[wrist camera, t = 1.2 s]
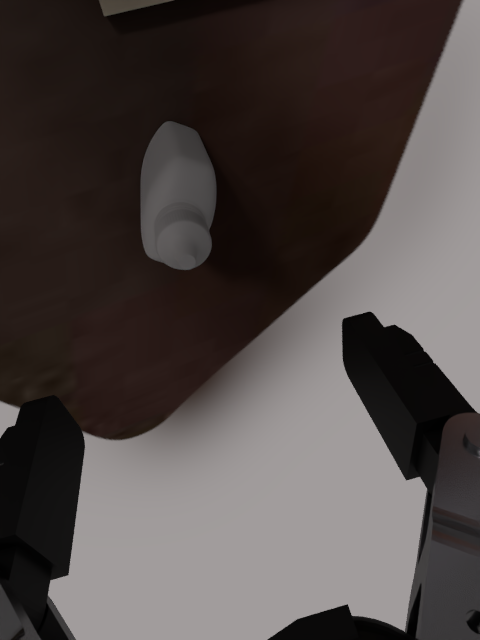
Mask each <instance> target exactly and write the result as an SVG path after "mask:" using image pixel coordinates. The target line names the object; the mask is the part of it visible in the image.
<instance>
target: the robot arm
mask: <svg viewBox="0 0 480 640" xmlns="http://www.w3.org/2000/svg"><path fill="white" fill-rule="evenodd" d="M342 343H343V344H342V345H343V362H344V367H345V370H346V372H347V375H348V377H349V379H350V381H351V382H352V384H353V386H354V388H355V390H356V392H357V393H358V395H359V397H360V399H361V400H362V402H363V404H364V406H365V407H366V409H367V411H368V413H369V415H370V417H371V418H372V420H373V422H374V424H375V425H376V427H377V429H378V431H379V433H380V434H381V436H382V438H383V440H384V442H385V443H386V445H387V447H388V449H389V450H390V452H391V454H392V456H393V457H394V459H395V461H396V463H397V465H398V467H399V468H400V470H401V472H402V474H403V475H404V477H405V479H406V480H409V479H413V478H416V477H421V479H422V481H423V482H424V484H425V486H426V487H427V493H426V500H425V508H424V514H423V521H422V528H421V534H420V541H419V548H418V556H417V562H416V568H415V574H414V579H413V584H412V590H411V595H410V601H409V608H408V614H407V621H406V628H405V632H404V631H402V630H400V629H398V628H396V627H394V626H392V625H390V624H388V623H385V622H382V621H379V620H376V619H371V618H366V617H359V616H352V615H351V613H350V610H349V607H348V605H344V606H340V607H337V608H334V609H331V610H327V611H324V612H320V613H317V614H313V615H310V616H307V617H303V618H300V619H297V620H296V621H294V622H293V623H291V624H290V625H288V626H287V627H285V628H284V629H283V630H281V631H280V632H278V633H277V634H275V635H274V636H273V637H271V638H269V639H268V640H480V414H478V413H477V412H476V411H475V410H474V409H473V408H472V407H471V406H470V405H469V403H468V402H467V401H466V400H465V399H464V397H463V396H462V395H461V394H460V393H459V392H458V390H457V389H456V388H455V386H454V385H453V384H452V383H451V382H450V380H449V379H448V378H447V377H446V376H445V374H444V373H443V372H442V371H441V370H440V368H439V367H438V366H437V365H436V364H434V363H433V360H432V359H431V358H430V356H429V355H428V354H427V353H426V352H424V350H423V348H422V347H421V345H420V344H419V343H418V342H417V341H416V340H415V338H414V337H413V336H412V335H411V334H409V333H408V332H406V331H404V330H402V329H401V328H399V327H397V326H396V325H391V326H388V327H383V325H382V324H381V323H380V322H379V320H378V319H377V318H376V316H375V315H374V314H373V313H372V312H366V313H363V314H359V315H355V316H352V317H348V318H344V319H343V322H342ZM84 449H85V443H84V437H83V433H82V430H81V428H80V427H79V425H78V424H77V423H76V421H75V420H74V419H73V417H72V416H71V414H70V413H69V412H68V410H67V409H66V408H65V406H64V405H63V404H62V402H61V401H60V400H59V398H58V397H56V396H54V395H52V396H48V397H44V398H41V399H37V400H33V401H29V402H26V403H24V404H23V405H22V406H21V408H20V411H19V414H18V418H17V421H16V424H15V426H12V427H8V428H7V429H6V431H5V432H4V434H3V435H2V436H1V438H0V640H76V639H75V637H74V636H73V634H72V633H71V631H70V629H69V628H68V626H67V624H66V623H65V621H64V619H63V618H62V617H61V615H60V613H59V612H58V610H57V608H56V606H55V605H54V603H53V602H52V600H51V599H50V598H49V597H48V591H49V584H50V580H53V579H56V578H60V577H63V576H67V575H68V573H69V565H70V558H71V550H72V542H73V535H74V527H75V519H76V511H77V504H78V495H79V489H80V481H81V473H82V466H83V458H84Z"/></svg>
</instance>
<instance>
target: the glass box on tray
mask: <svg viewBox="0 0 480 640" xmlns="http://www.w3.org/2000/svg"><path fill="white" fill-rule="evenodd" d="M169 1H173V0H99V2H100V5H101V8H102V11H103V14H104V16H109V15H113V14H117V13H122V12H126V11H130V10H134V9H139V8H143V7H147V6H152V5H156V4H160V3H165V2H169Z"/></svg>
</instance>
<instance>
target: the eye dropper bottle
mask: <svg viewBox="0 0 480 640" xmlns="http://www.w3.org/2000/svg"><path fill="white" fill-rule="evenodd" d="M215 206H216V178H215V172H214V169H213V166H212V163H211V161H210V159H209V156H208V154H207V152H206V150H205V147H204V145H203V143H202V141H201V138H200V136H199V134H198V132H197V131H195V130H194V129H192V128H190V127H187V126H184V125H182V124H179V123H176V122H173V121H167V122H165V123H163V124H162V125H161V127H160V128H159V129H158V130H157V132H156V133H155V135H154V136H153V138H152V140H151V142H150V144H149V146H148V148H147V150H146V153H145V156H144V160H143V164H142V170H141V234H142V241H143V246H144V249H145V252H146V254H147V255H148V256H149V257H150V258H152V259H153V260H156V261H159V262H163V263H165V264H167V265H169V267H172V268H174V269H180V270H181V269H182V270H189V269H192V268H194V267H197V266H199V265H201V263H203V262H204V261H205V260H206V259H207V257H208V255H209V254H210V252H211V251H210V250H211V247H212V240H211V236H210V233H209V230H210V227H211V224H212V221H213V217H214V212H215Z"/></svg>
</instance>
